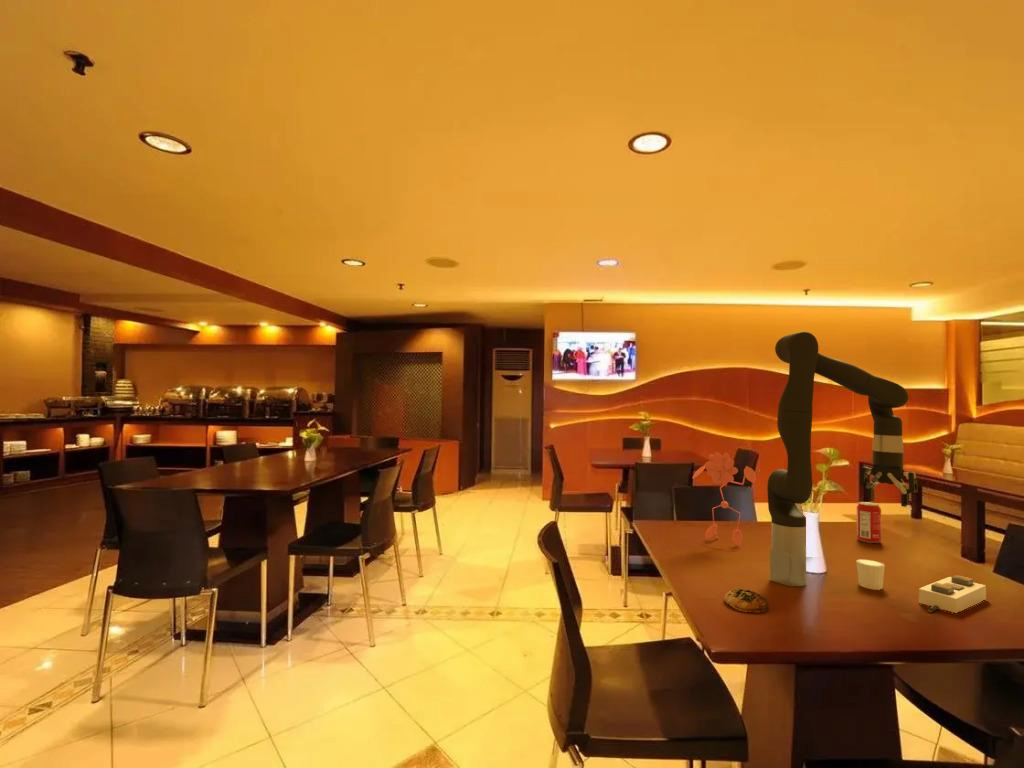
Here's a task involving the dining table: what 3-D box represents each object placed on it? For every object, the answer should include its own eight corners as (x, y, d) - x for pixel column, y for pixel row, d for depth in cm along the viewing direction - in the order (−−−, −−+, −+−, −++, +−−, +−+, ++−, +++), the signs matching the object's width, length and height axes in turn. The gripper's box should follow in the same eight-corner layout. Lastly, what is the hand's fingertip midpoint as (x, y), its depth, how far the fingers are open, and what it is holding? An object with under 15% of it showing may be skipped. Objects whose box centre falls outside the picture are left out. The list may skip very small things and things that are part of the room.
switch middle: (958, 598, 135) (958, 589, 135) (941, 593, 138) (941, 584, 139) (963, 595, 137) (963, 586, 137) (947, 591, 140) (947, 582, 140)
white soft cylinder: (878, 583, 151) (878, 560, 151) (889, 591, 145) (889, 567, 145) (852, 581, 153) (852, 557, 153) (861, 589, 146) (861, 564, 147)
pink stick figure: (699, 533, 206) (698, 448, 206) (763, 548, 186) (763, 454, 187) (678, 540, 196) (677, 450, 197) (744, 557, 176) (743, 457, 177)
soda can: (859, 542, 196) (859, 504, 197) (854, 538, 203) (854, 500, 204) (884, 545, 193) (883, 506, 194) (878, 540, 200) (877, 502, 201)
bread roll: (779, 608, 131) (776, 589, 131) (752, 623, 126) (749, 603, 126) (741, 595, 141) (738, 578, 141) (714, 608, 135) (712, 590, 135)
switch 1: (948, 598, 132) (948, 589, 132) (931, 593, 135) (931, 584, 135) (953, 596, 134) (953, 586, 134) (937, 591, 137) (937, 582, 137)
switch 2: (968, 589, 139) (967, 581, 139) (951, 585, 142) (951, 577, 142) (973, 587, 140) (973, 578, 141) (956, 583, 144) (956, 574, 144)
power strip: (948, 618, 127) (948, 602, 127) (911, 606, 134) (911, 591, 134) (986, 600, 139) (985, 585, 140) (949, 590, 146) (949, 576, 146)
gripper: (855, 448, 157) (855, 500, 157) (910, 452, 145) (910, 509, 145) (867, 447, 161) (866, 498, 161) (921, 452, 149) (921, 507, 149)
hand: (887, 503), depth 153 cm, fingers open, 8 cm apart
